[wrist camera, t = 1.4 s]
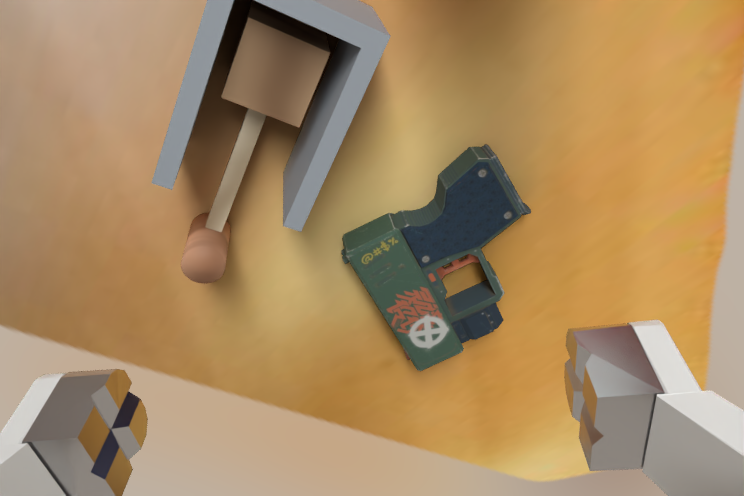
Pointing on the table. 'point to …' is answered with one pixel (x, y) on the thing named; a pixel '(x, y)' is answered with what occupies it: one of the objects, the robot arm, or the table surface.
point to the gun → (438, 258)
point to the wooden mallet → (256, 117)
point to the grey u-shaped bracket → (329, 108)
